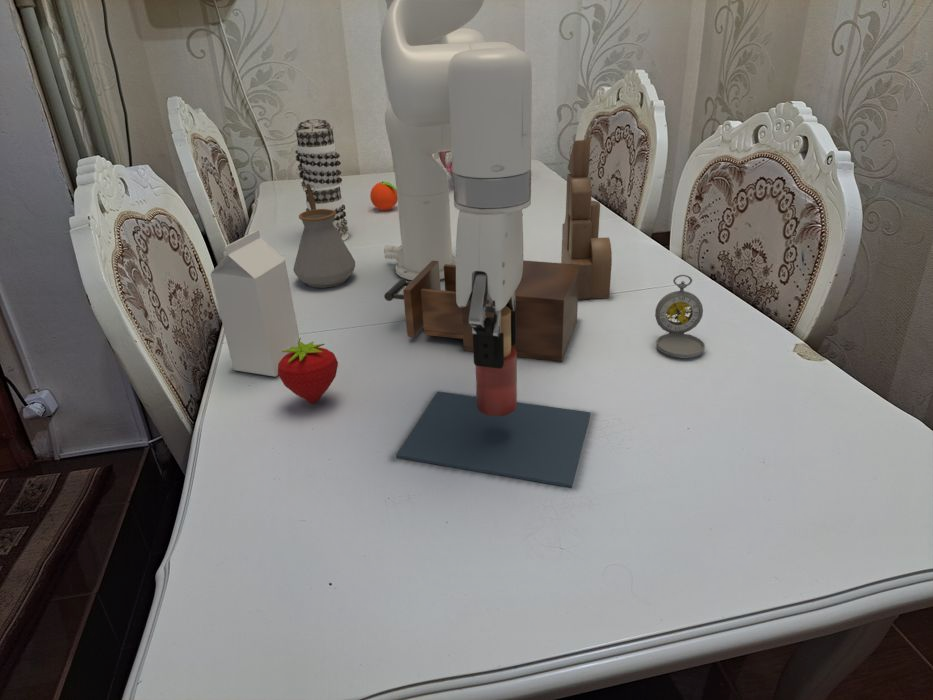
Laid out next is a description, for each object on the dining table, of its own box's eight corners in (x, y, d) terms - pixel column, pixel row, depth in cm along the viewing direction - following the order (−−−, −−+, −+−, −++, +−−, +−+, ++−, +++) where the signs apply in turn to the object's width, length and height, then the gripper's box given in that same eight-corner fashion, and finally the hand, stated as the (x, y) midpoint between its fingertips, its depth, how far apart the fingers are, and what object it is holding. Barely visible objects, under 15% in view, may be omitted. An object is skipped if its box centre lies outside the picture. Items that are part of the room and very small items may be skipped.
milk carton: (303, 354, 96) (280, 231, 87) (275, 378, 90) (248, 248, 81) (262, 348, 98) (236, 228, 89) (233, 371, 92) (202, 244, 83)
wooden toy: (611, 298, 110) (622, 147, 98) (572, 300, 110) (578, 149, 98) (594, 266, 123) (602, 130, 111) (559, 267, 123) (563, 131, 111)
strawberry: (346, 409, 83) (335, 339, 78) (286, 420, 81) (271, 350, 76) (340, 386, 88) (330, 320, 83) (283, 396, 86) (270, 329, 81)
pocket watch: (679, 365, 89) (687, 298, 84) (638, 341, 96) (644, 278, 91) (722, 350, 92) (733, 285, 88) (679, 328, 99) (687, 266, 94)
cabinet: (463, 350, 95) (460, 290, 91) (488, 312, 107) (487, 257, 102) (561, 362, 91) (564, 300, 87) (576, 321, 102) (579, 264, 98)
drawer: (378, 333, 99) (373, 287, 96) (409, 301, 110) (405, 258, 106) (492, 346, 94) (491, 297, 90) (513, 311, 104) (512, 266, 101)
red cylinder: (471, 413, 73) (467, 317, 67) (483, 392, 77) (480, 300, 71) (511, 419, 72) (510, 321, 66) (520, 397, 75) (520, 303, 70)
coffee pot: (361, 286, 119) (351, 206, 112) (298, 296, 116) (283, 214, 109) (346, 250, 137) (336, 179, 130) (291, 257, 134) (278, 185, 127)
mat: (396, 457, 73) (395, 454, 73) (437, 393, 85) (437, 391, 85) (571, 487, 68) (571, 484, 68) (590, 414, 79) (590, 412, 79)
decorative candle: (300, 242, 143) (280, 124, 131) (323, 229, 150) (307, 117, 138) (335, 246, 139) (318, 125, 128) (357, 233, 147) (343, 118, 135)
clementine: (408, 208, 163) (405, 180, 160) (391, 215, 158) (388, 186, 155) (383, 204, 167) (380, 177, 164) (366, 211, 162) (362, 183, 159)
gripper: (479, 168, 71) (484, 319, 79) (424, 211, 56) (437, 389, 65) (547, 170, 68) (544, 324, 77) (508, 215, 54) (509, 398, 63)
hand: (495, 352), depth 71 cm, fingers closed on red cylinder, 4 cm apart
